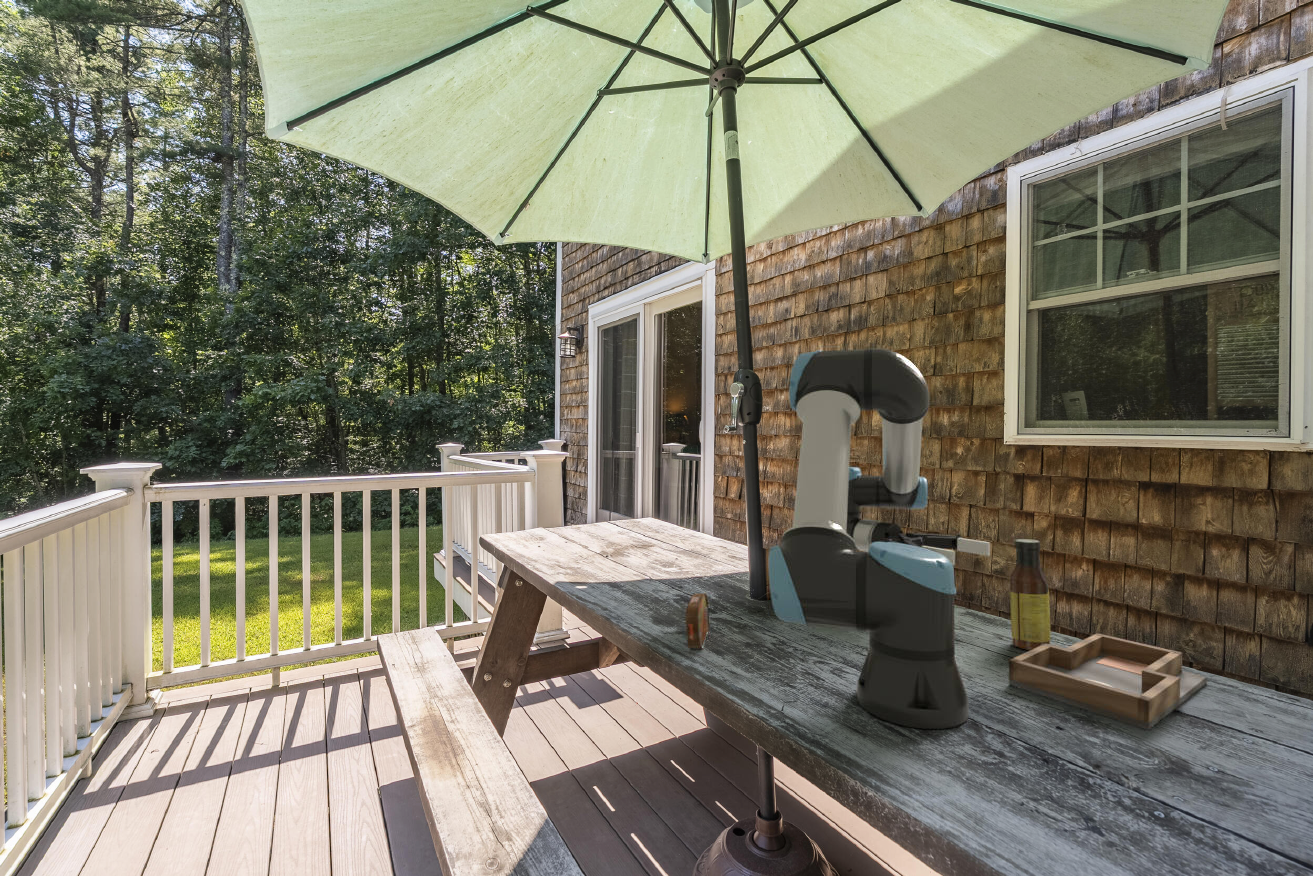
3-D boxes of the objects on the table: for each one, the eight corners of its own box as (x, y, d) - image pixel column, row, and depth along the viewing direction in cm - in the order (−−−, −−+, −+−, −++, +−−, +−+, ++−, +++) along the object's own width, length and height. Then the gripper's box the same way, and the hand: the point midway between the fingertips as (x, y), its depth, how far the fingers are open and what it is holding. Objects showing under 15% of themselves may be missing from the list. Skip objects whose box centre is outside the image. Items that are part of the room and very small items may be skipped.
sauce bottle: (1058, 650, 112) (1058, 542, 112) (1034, 655, 110) (1034, 545, 110) (1025, 639, 118) (1025, 536, 118) (1002, 643, 116) (1002, 539, 116)
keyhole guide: (1148, 730, 82) (1148, 700, 82) (1008, 685, 97) (1009, 660, 97) (1206, 683, 97) (1206, 658, 97) (1077, 650, 112) (1077, 628, 112)
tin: (700, 656, 111) (700, 609, 111) (683, 655, 111) (683, 608, 111) (710, 629, 125) (710, 588, 125) (695, 628, 126) (694, 588, 126)
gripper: (910, 547, 147) (1002, 563, 130) (844, 561, 133) (937, 582, 116) (910, 516, 147) (1002, 528, 130) (844, 527, 133) (937, 542, 115)
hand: (972, 553), depth 123 cm, fingers open, 13 cm apart
